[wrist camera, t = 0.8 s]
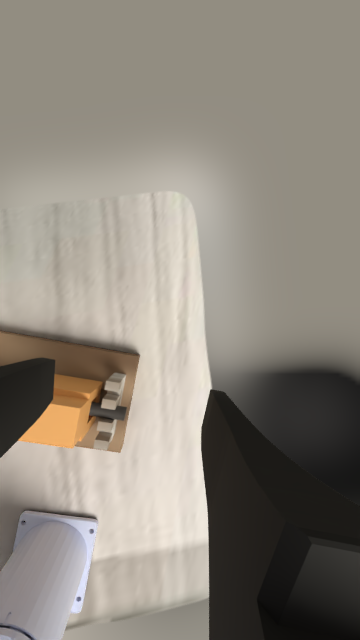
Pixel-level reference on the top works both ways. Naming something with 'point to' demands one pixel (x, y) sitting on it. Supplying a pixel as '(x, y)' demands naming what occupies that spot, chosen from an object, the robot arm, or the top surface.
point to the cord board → (86, 364)
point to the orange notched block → (66, 413)
